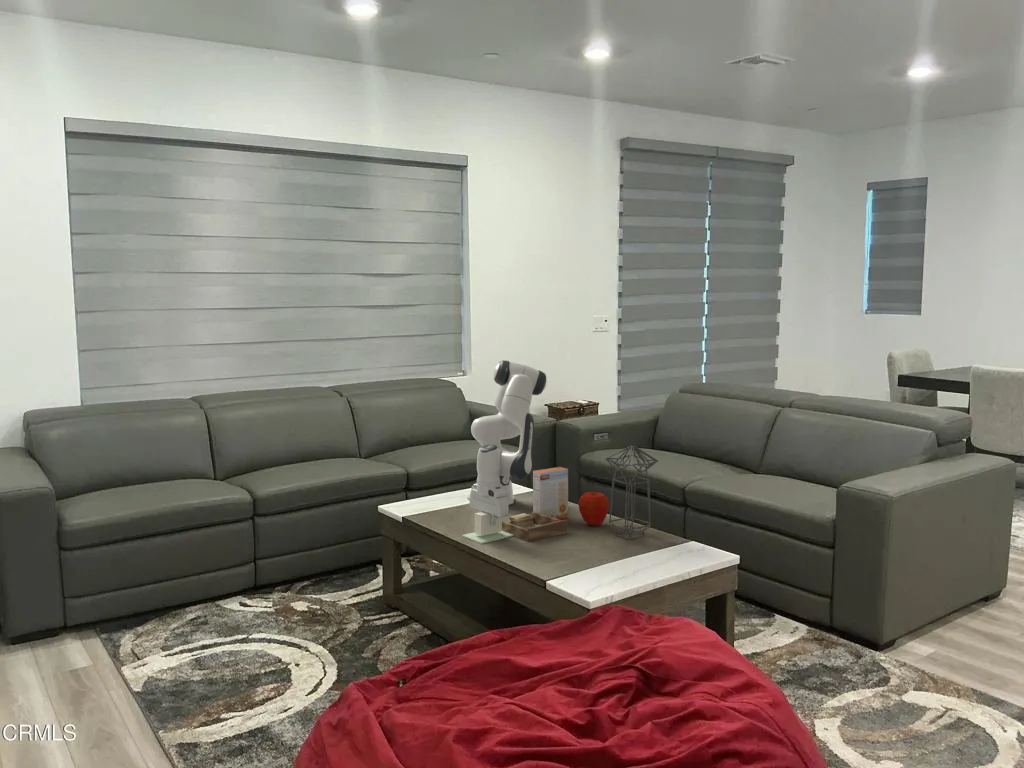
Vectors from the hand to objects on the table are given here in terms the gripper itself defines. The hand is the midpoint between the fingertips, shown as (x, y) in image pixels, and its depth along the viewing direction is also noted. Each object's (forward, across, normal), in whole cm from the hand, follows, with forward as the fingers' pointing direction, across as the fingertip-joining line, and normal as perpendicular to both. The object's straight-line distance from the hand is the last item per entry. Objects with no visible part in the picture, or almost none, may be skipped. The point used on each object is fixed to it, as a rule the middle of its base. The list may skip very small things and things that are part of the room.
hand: (488, 523), depth 328 cm
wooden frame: (+5, +5, +17) cm, 19 cm away
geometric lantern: (+5, +33, +43) cm, 55 cm away
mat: (+5, 0, 0) cm, 5 cm away
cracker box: (+5, -3, +34) cm, 35 cm away
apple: (+5, +14, +42) cm, 45 cm away
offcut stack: (+5, -1, +17) cm, 18 cm away
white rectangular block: (+4, 0, 0) cm, 4 cm away
